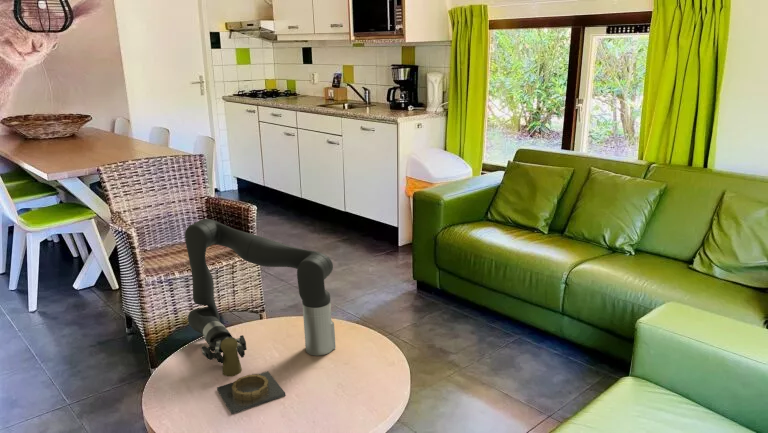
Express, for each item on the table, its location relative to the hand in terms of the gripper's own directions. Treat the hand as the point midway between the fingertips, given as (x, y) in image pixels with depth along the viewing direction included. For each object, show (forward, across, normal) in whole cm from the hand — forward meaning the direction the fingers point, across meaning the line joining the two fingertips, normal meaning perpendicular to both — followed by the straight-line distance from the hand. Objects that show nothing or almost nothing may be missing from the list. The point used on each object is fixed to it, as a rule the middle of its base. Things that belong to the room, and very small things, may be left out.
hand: (232, 357), depth 178 cm
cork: (-2, 0, +6) cm, 7 cm away
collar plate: (+13, +1, +6) cm, 14 cm away
